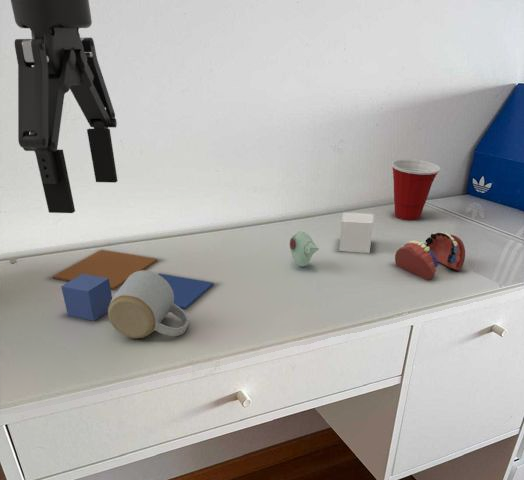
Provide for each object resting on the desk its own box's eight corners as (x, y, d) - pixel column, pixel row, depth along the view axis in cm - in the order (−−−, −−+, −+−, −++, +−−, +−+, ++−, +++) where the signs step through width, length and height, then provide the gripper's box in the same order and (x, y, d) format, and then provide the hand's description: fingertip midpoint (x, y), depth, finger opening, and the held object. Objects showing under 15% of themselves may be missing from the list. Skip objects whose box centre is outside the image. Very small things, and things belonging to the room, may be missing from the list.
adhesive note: (341, 240, 108) (343, 212, 105) (370, 242, 107) (373, 214, 104) (339, 251, 103) (341, 221, 100) (369, 253, 102) (372, 223, 99)
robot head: (321, 272, 94) (323, 236, 90) (301, 276, 92) (302, 240, 89) (299, 257, 100) (300, 223, 96) (280, 261, 98) (281, 226, 95)
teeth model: (392, 234, 92) (440, 223, 97) (387, 266, 96) (433, 255, 101) (427, 250, 86) (476, 238, 91) (419, 284, 90) (467, 271, 95)
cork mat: (53, 278, 92) (52, 276, 92) (101, 251, 103) (101, 249, 103) (113, 289, 88) (113, 287, 88) (157, 260, 99) (157, 258, 99)
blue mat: (126, 298, 85) (126, 296, 85) (158, 275, 93) (158, 273, 93) (185, 309, 82) (185, 307, 81) (213, 284, 89) (213, 282, 89)
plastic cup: (414, 227, 115) (423, 171, 109) (375, 216, 122) (381, 163, 115) (441, 217, 121) (450, 163, 115) (402, 207, 128) (409, 156, 122)
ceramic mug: (108, 339, 74) (99, 290, 69) (129, 313, 80) (123, 267, 76) (180, 346, 72) (175, 297, 68) (195, 319, 79) (192, 272, 75)
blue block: (67, 315, 80) (60, 286, 77) (88, 302, 84) (82, 273, 81) (94, 321, 78) (88, 291, 76) (113, 307, 82) (108, 278, 80)
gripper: (19, -32, 41) (73, 229, 52) (124, -11, 62) (146, 172, 73) (-69, -30, 42) (2, 227, 53) (65, -9, 63) (95, 171, 74)
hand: (86, 195), depth 63 cm, fingers open, 13 cm apart
